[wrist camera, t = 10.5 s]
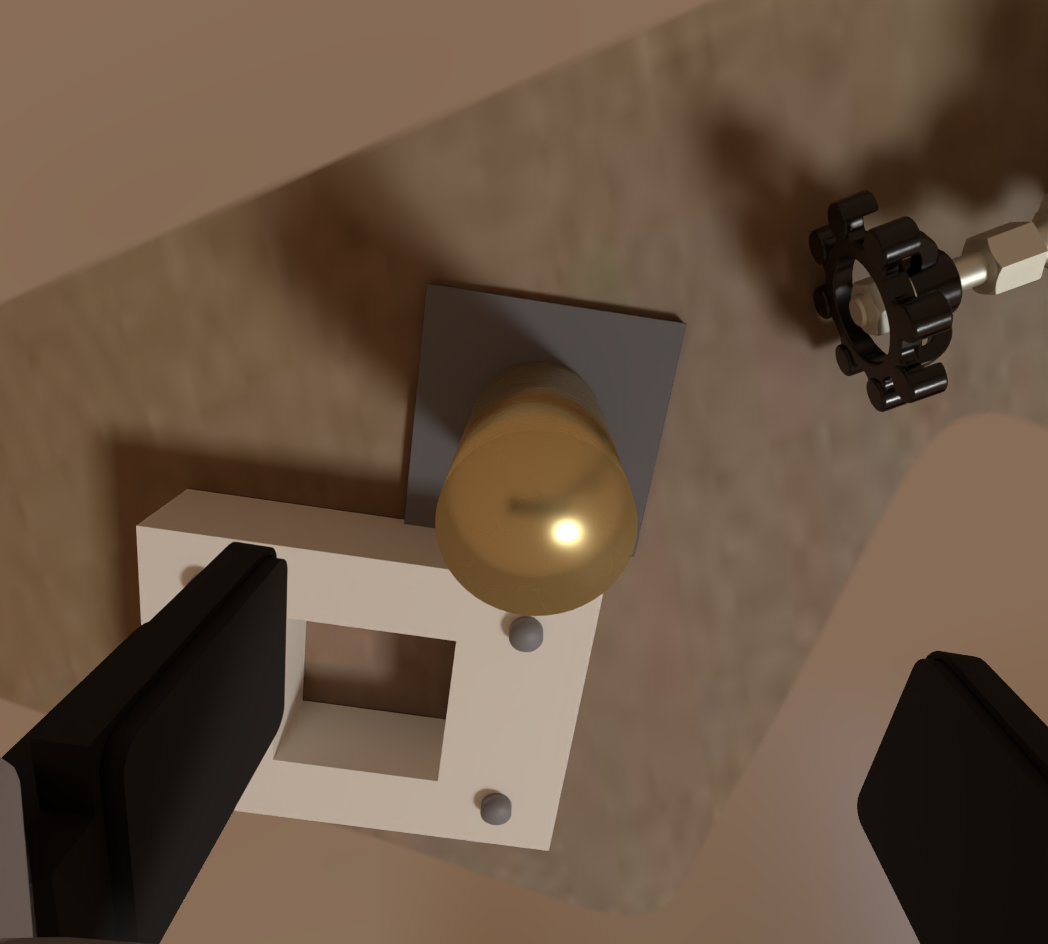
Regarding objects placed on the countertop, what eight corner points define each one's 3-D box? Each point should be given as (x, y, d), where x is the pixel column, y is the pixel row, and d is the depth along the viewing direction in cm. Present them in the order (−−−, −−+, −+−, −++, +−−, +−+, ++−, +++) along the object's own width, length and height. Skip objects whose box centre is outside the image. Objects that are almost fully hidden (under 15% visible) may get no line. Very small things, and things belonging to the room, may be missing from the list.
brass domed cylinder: (613, 370, 24) (656, 445, 15) (591, 496, 25) (618, 627, 17) (478, 352, 24) (445, 416, 15) (464, 479, 25) (426, 602, 17)
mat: (683, 322, 23) (686, 323, 23) (632, 552, 26) (634, 556, 26) (428, 283, 23) (427, 284, 23) (405, 519, 26) (403, 523, 26)
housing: (595, 546, 26) (604, 596, 23) (547, 784, 30) (549, 859, 27) (187, 488, 26) (129, 530, 22) (192, 737, 30) (144, 807, 26)
